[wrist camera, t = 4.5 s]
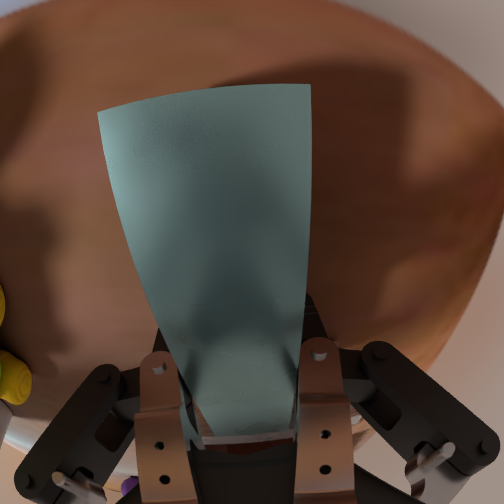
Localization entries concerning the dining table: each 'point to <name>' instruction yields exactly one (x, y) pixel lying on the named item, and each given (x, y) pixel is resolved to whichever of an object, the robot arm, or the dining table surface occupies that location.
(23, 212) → the dining table surface
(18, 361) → the turtle toy
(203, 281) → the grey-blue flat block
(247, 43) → the dining table surface
